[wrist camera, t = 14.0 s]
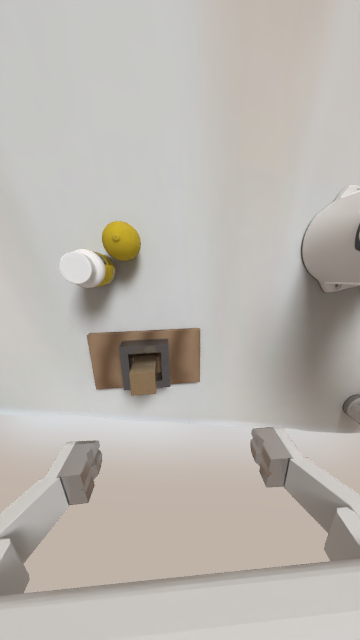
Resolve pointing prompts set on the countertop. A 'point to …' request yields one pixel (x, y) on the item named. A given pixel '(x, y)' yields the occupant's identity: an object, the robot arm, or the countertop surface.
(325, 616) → the robot arm
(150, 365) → the square bar
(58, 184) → the countertop surface
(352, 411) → the travel mug
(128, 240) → the lemon
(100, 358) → the dock board
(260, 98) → the countertop surface
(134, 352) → the collar
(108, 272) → the supplement bottle
